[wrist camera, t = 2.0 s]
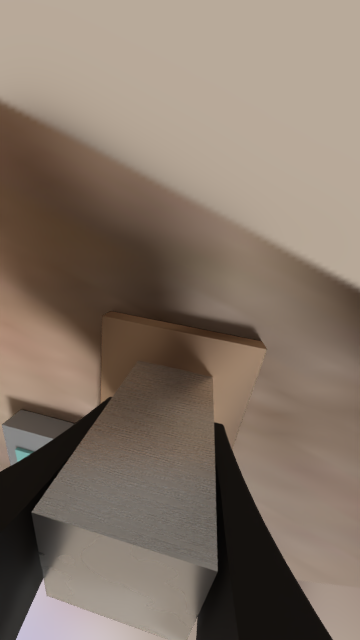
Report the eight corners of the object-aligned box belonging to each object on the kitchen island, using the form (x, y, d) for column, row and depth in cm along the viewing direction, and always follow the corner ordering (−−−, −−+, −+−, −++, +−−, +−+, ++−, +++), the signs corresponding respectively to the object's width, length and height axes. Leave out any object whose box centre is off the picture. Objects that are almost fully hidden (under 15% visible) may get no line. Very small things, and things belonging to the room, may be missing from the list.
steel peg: (213, 376, 11) (217, 571, 4) (198, 433, 12) (184, 645, 5) (138, 360, 11) (31, 512, 4) (132, 417, 12) (47, 595, 6)
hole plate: (188, 453, 14) (185, 478, 12) (170, 528, 17) (166, 556, 16) (21, 409, 15) (-1, 426, 14) (33, 487, 19) (17, 508, 17)
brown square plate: (261, 341, 11) (266, 349, 10) (224, 452, 14) (225, 467, 13) (111, 311, 11) (102, 315, 10) (107, 422, 14) (100, 434, 13)
